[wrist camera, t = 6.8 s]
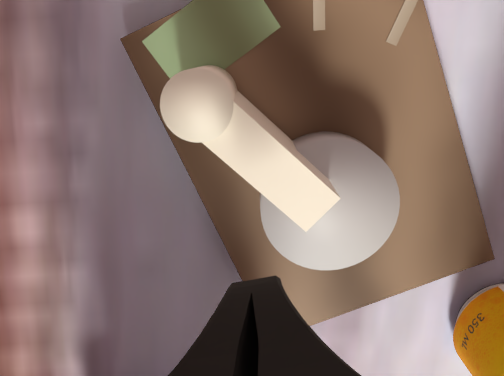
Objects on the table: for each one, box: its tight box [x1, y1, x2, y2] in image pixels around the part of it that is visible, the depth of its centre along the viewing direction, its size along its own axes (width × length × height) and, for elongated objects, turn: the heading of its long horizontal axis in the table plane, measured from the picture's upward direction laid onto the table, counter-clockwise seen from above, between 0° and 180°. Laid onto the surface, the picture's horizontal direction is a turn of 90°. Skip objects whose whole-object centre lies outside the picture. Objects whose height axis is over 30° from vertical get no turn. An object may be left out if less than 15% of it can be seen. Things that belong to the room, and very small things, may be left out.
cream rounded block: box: [160, 65, 400, 270], centre depth 16 cm, size 11×6×5 cm, turn 48°
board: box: [120, 0, 494, 326], centre depth 19 cm, size 13×18×1 cm
